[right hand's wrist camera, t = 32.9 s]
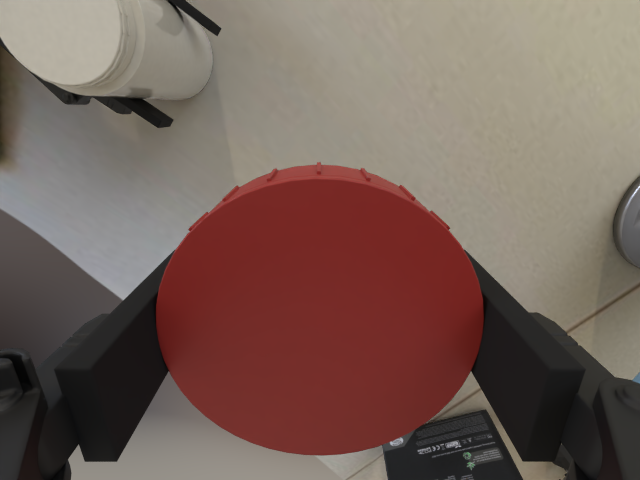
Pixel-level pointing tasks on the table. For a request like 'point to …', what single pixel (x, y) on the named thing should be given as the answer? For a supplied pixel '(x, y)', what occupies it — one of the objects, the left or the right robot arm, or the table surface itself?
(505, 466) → the graphics card box
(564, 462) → the robot
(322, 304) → the lid
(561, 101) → the table surface
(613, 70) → the table surface
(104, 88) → the jar
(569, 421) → the right robot arm
